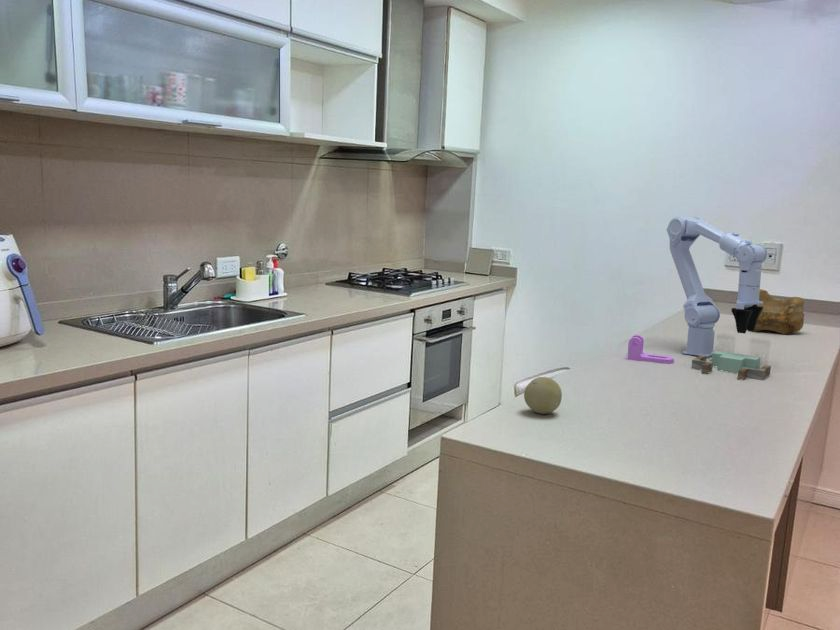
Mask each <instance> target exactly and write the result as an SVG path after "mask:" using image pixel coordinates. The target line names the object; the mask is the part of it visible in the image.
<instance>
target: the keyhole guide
mask: <svg viewBox="0 0 840 630" xmlns="http://www.w3.org/2000/svg"><path fill="white" fill-rule="evenodd" d="M707 358H708V357H707V356H705V355H700V356H696V357H695V358H693V359H692V360H691V369H693V368H696V369H695V370H699V369H702V370H701V373H702V372H703V373H702V374H704V373H708V372H710V371H711V372H713V368H714V367H713V362H711V361H708V360H707ZM771 367H772V365H770V364H764V365H763V366H761V367H759V370H758V369H752V368H745V367H742V368H741V369H739V370H738V374H737V380H739V379H743V380H742V381H744V380H745V378H746V377H750V378H749V379H753V378H755V379H754V380H759V379H760V380H761V381H764V380H765V379H766V378H767V377H769V374H771ZM711 372H710V373H711ZM708 374H709V373H708ZM764 378H765V379H764ZM746 379H747V378H746Z"/></svg>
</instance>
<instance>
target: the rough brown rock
mask: <svg viewBox="0 0 840 630" xmlns="http://www.w3.org/2000/svg"><path fill="white" fill-rule="evenodd" d="M759 301H763V304H759V305H758V306H760V307H763V310H762V311H761V313H760V315H759V317H758V319H757V322H756V325H755V328H754V330H753V331H752V330H748V331H751V332H758V331H771V332H772V331H773V332H776V333H779V334H782V335H790V334H794V333H798V332H800V331H801V330H802V329H803V327H804V323H805V322H804V320H805V314H804V302H805V301H804V298H803V297H801V296H800V297H799V296H792V297H790V298H787V299H785V300H782V299H780V298H775V297H773V296H771V294H770V293H769V292H768V291H767V290H765V289H761V288H760V292H759Z"/></svg>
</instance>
